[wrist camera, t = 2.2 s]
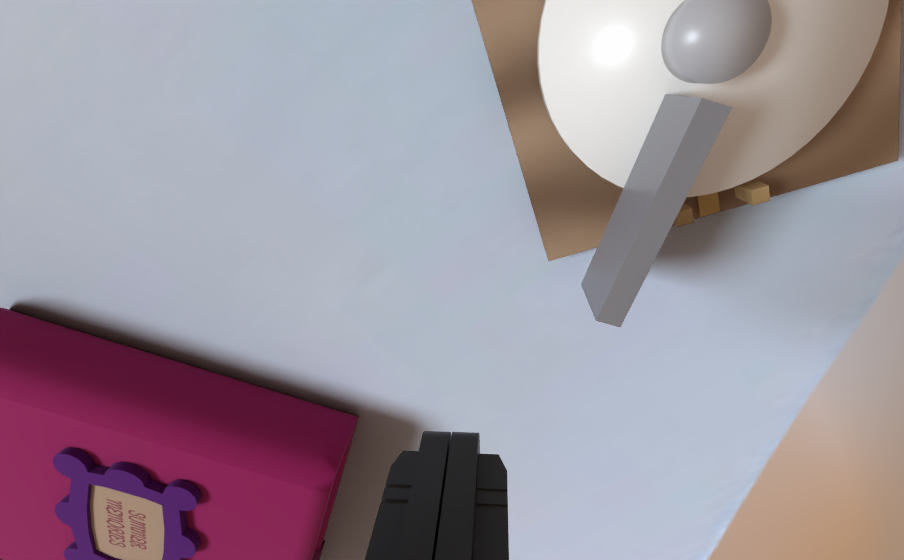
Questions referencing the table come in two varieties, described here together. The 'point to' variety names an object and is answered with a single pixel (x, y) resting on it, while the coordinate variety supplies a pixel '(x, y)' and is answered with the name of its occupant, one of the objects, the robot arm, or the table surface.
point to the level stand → (594, 198)
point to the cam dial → (690, 104)
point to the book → (155, 456)
